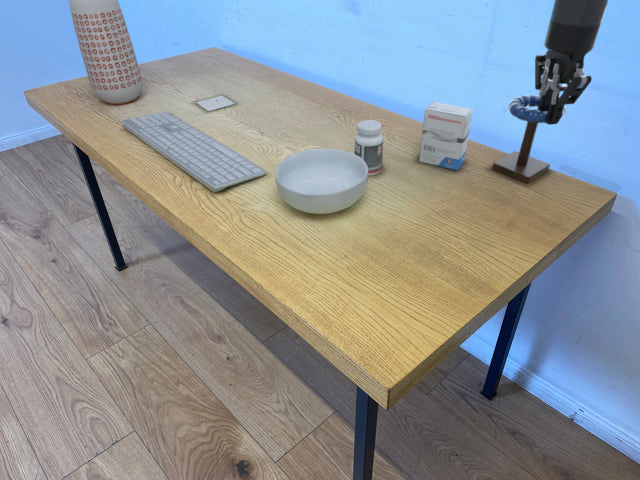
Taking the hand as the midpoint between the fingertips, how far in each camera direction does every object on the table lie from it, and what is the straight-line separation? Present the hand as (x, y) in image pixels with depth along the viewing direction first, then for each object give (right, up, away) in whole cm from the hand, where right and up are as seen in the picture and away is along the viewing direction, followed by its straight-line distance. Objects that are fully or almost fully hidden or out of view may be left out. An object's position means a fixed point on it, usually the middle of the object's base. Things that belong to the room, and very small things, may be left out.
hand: (546, 119), depth 86 cm
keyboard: (-71, -2, +21) cm, 74 cm away
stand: (0, -8, +11) cm, 13 cm away
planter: (-97, +18, +47) cm, 109 cm away
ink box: (-16, -5, +14) cm, 22 cm away
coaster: (-70, +15, +43) cm, 83 cm away
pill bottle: (-31, -7, +12) cm, 35 cm away
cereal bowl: (-41, -15, +3) cm, 44 cm away
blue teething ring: (-1, +3, +3) cm, 4 cm away
